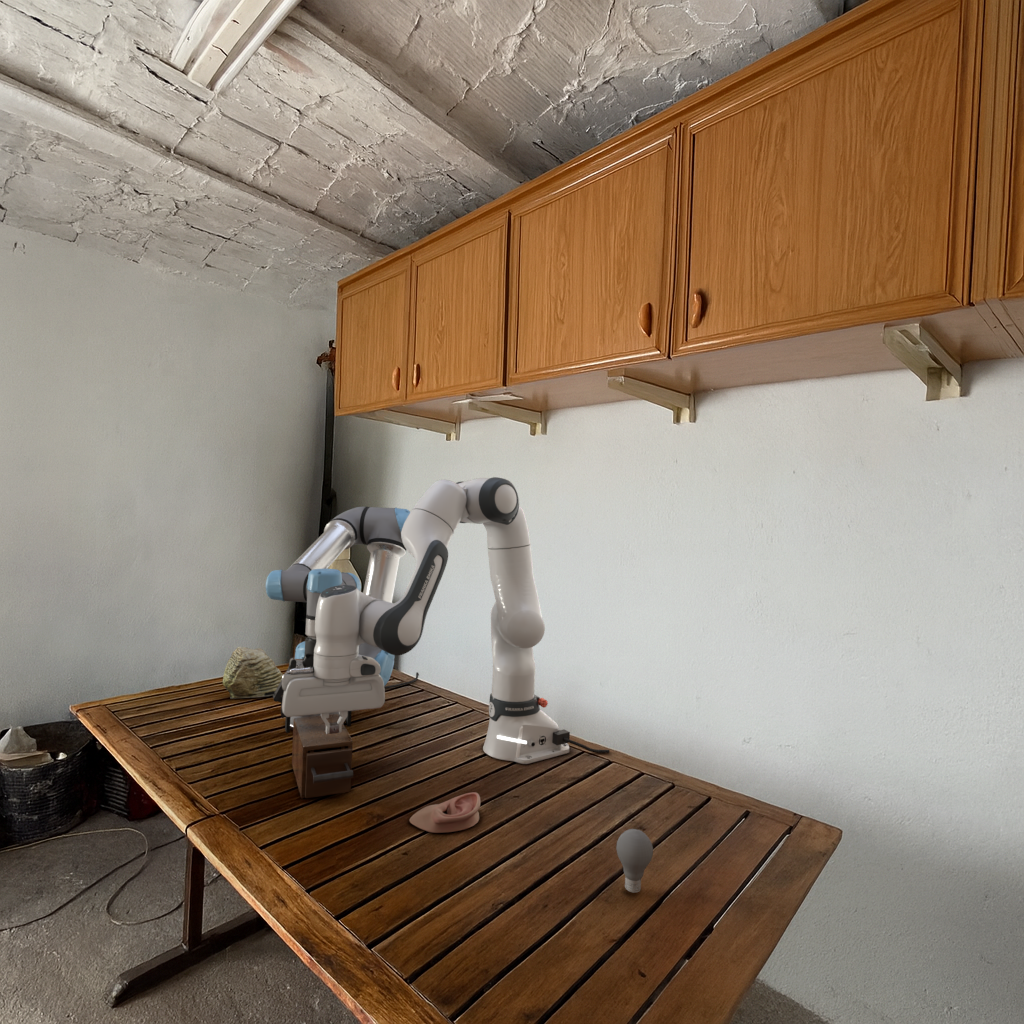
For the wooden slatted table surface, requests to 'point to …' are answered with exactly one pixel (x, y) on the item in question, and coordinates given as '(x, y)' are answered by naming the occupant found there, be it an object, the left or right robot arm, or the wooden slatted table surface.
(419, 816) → the anatomical model
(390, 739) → the wooden slatted table surface
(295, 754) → the brown box
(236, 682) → the fossil
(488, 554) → the right robot arm
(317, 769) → the drawer
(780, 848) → the wooden slatted table surface
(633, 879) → the light bulb
